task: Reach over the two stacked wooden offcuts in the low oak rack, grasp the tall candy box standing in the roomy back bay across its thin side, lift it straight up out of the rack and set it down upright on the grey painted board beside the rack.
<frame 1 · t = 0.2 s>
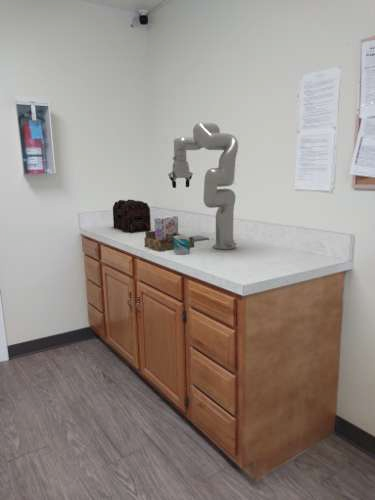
hand: (181, 187, 248), 31 cm above the counter, fingers open, 9 cm apart
board: (191, 239, 242), on the counter
rack: (169, 246, 223), on the counter
offcut lower: (175, 248, 217), resting in rack, touching offcut upper
offcut upper: (173, 242, 217), point 3 cm above the counter, touching offcut lower
candy box: (167, 246, 225), resting in rack
mug: (180, 252, 208), on the counter
crate: (131, 229, 290), on the counter
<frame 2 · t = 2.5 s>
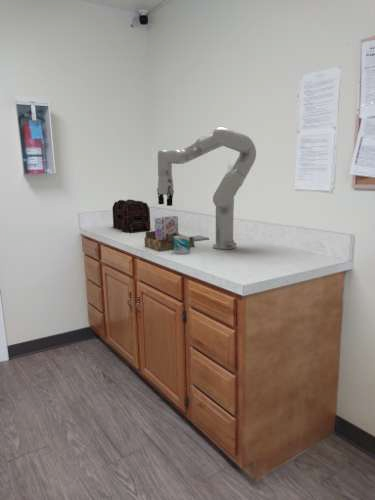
hand: (165, 205, 220), 23 cm above the counter, fingers open, 9 cm apart
offcut lower: (175, 248, 217), resting in rack
offcut upper: (174, 242, 217), point 3 cm above the counter
everything else where it was.
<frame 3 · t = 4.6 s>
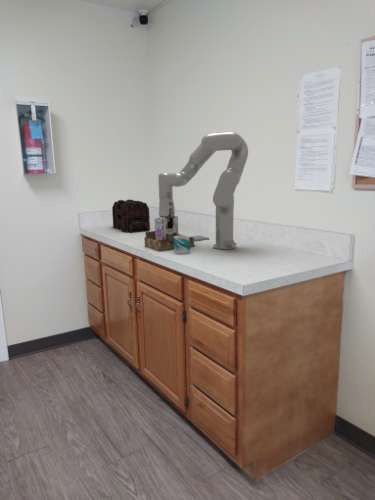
hand: (166, 227, 223), 10 cm above the counter, fingers closed on candy box, 7 cm apart
offcut lower: (175, 248, 218), resting in rack, touching offcut upper
offcut upper: (175, 242, 217), point 3 cm above the counter, touching offcut lower
candy box: (167, 246, 225), resting in rack, touching gripper
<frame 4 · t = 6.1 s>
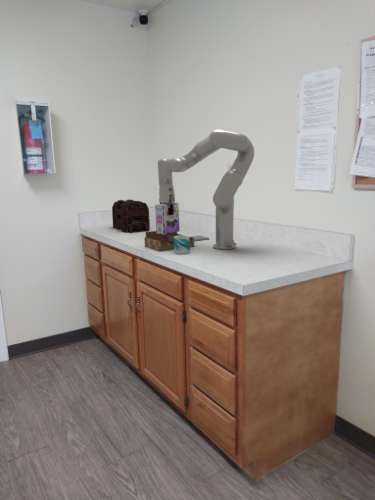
hand: (167, 214, 221), 18 cm above the counter, fingers closed on candy box, 7 cm apart
candy box: (168, 233, 223), point 7 cm above the counter, touching gripper
everything else where it was.
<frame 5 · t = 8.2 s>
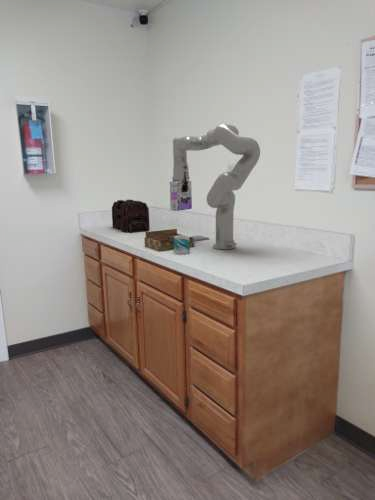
hand: (181, 191, 229), 30 cm above the counter, fingers closed on candy box, 7 cm apart
offcut lower: (175, 248, 218), resting in rack
offcut upper: (175, 242, 217), point 3 cm above the counter
candy box: (181, 210, 231), point 19 cm above the counter, touching gripper
everything else where it was.
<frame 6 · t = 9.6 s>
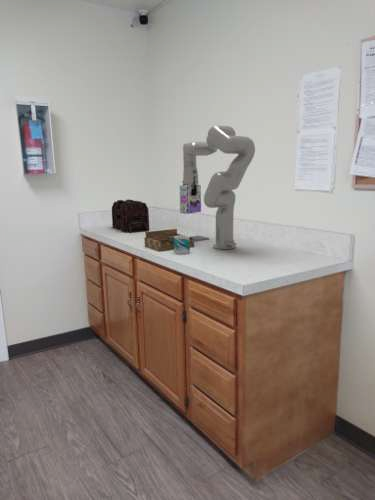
hand: (190, 195, 237), 27 cm above the counter, fingers closed on candy box, 7 cm apart
offcut lower: (175, 248, 218), resting in rack, touching offcut upper
offcut upper: (175, 242, 217), point 3 cm above the counter, touching offcut lower
candy box: (190, 212, 239), point 16 cm above the counter, touching gripper
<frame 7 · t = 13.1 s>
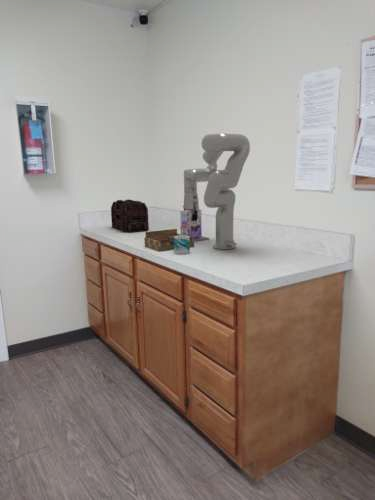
hand: (191, 219, 240), 12 cm above the counter, fingers closed on candy box, 7 cm apart
candy box: (191, 237, 242), point 2 cm above the counter, touching gripper
when the fingers open (12 cm above the counter, at t = 13.1 s): candy box stays where it is, resting on board.
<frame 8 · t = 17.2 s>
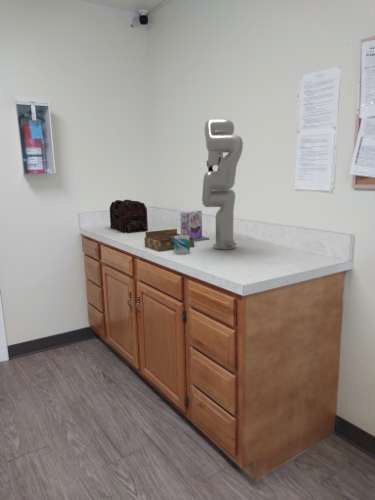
hand: (215, 175, 240), 38 cm above the counter, fingers open, 9 cm apart
offcut lower: (175, 248, 218), resting in rack
offcut upper: (176, 242, 216), point 3 cm above the counter
candy box: (191, 238, 242), point 1 cm above the counter, touching board
at the end: candy box inside the target area on the board (0.5 cm from its centre), point 0.8 cm above the board's base; candy box tilted 0°; the gripper is holding nothing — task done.
